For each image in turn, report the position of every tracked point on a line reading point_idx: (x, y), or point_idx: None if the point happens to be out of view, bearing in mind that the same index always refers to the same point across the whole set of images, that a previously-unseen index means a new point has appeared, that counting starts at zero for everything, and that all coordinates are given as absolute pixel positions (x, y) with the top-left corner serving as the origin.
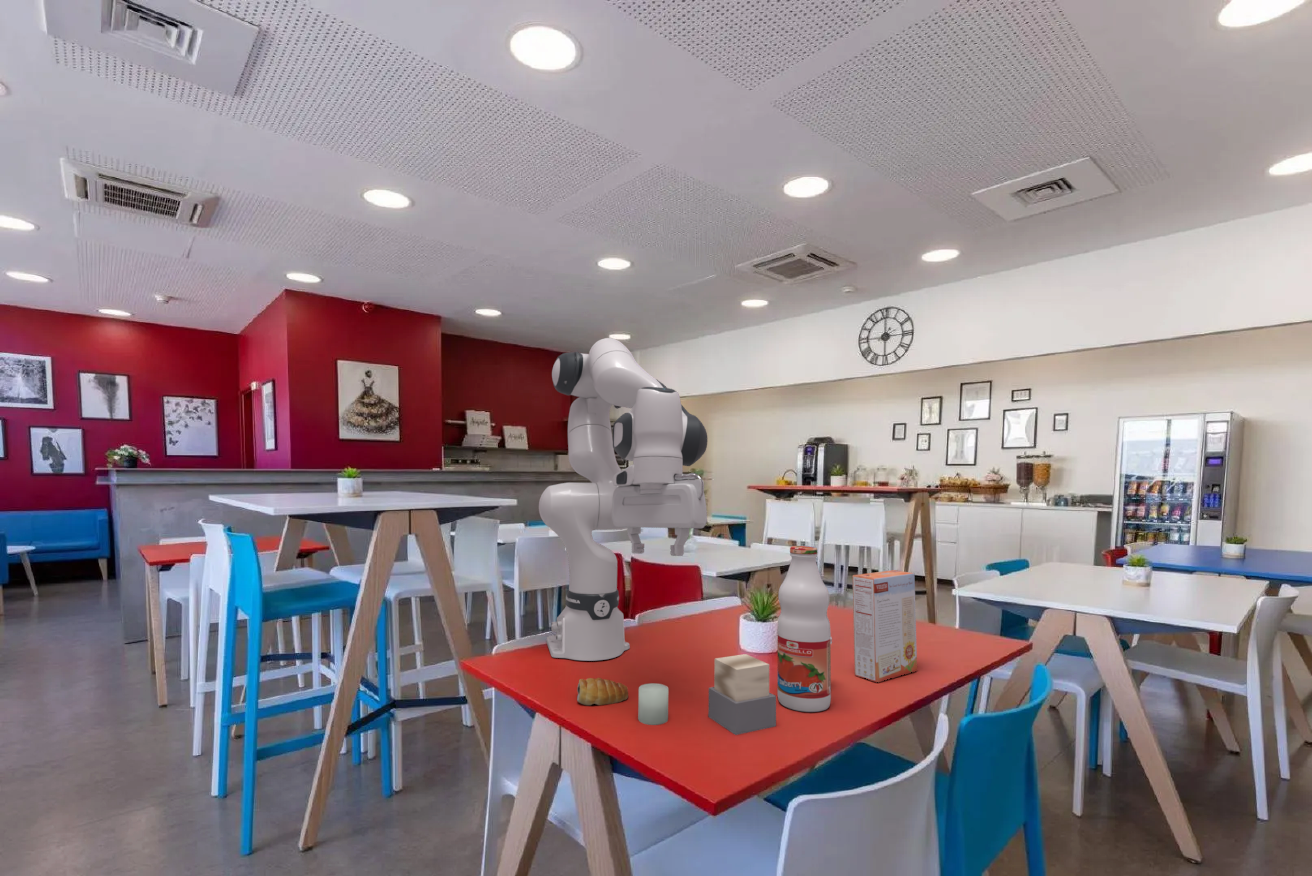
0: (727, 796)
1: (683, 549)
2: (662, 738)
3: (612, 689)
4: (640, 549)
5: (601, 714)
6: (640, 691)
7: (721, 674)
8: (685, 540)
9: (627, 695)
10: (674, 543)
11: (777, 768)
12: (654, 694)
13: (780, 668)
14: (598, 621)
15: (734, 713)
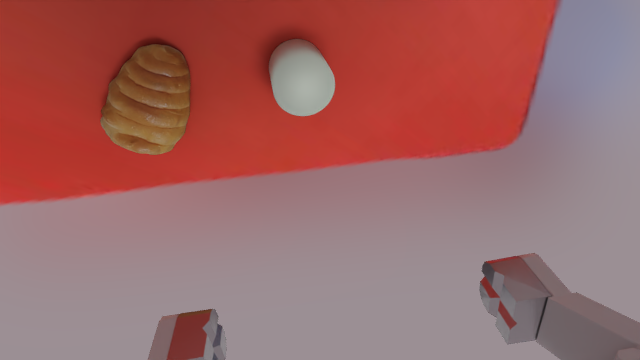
0: (522, 127)
1: (553, 273)
2: (366, 100)
3: (178, 96)
4: (211, 341)
5: (228, 131)
6: (300, 115)
7: None
8: (614, 319)
9: (181, 55)
10: (547, 349)
11: (547, 22)
12: (328, 102)
13: None
14: None
15: None
